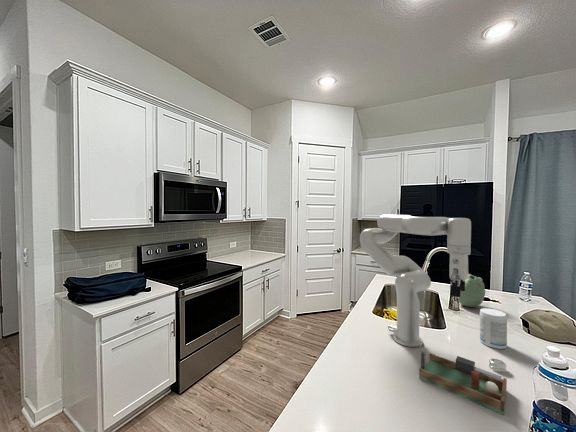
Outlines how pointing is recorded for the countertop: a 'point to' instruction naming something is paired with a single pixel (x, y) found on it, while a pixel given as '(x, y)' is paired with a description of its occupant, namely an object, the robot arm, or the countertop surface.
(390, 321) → the countertop surface
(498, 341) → the supplement tub
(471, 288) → the cabbage
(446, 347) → the countertop surface
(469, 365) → the multicoloured piece
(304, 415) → the countertop surface
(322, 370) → the countertop surface
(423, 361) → the pitch
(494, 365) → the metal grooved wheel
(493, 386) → the ball
